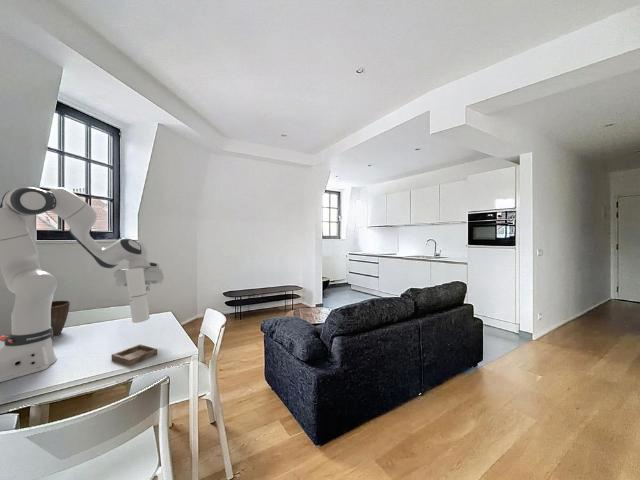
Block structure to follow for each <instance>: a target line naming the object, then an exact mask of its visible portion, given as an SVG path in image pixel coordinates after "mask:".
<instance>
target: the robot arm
mask: <svg viewBox="0 0 640 480" xmlns="http://www.w3.org/2000/svg"><path fill="white" fill-rule="evenodd" d="M47 212H52V213H54V214H56V215H57V216H58V217H59V218H60V219H62V220H63V221H64V222H66V224H67V225H68V227H69V234H70V235H71V236H72V238H73V239H74V240H75V241H76V242H77V243H78V244H79V245H80V246H81V247H82V248H84V250H85V251H86V252H87V253H88V254H89V255H90V256H91V257H92V258H93V259H94V260H95V261H96V263H97V264H98V265H99V266H100V267H102V268H103V269H104V268H105V269H114V268H115V267H117V266H119V264H121V263H123V262H124V261H125V260H127V261H128V268H125V269H122V268H121V269H120V268H119V269H117V270H115V271H114V272H113V276H114V278H115V282H114V284H115V286H116V287H117V288H120V287H122V288H123V287H127V280H126V273H125V271H126V270H129V269H134V268H143V271H144V279H145V286H146V285H147V286H146V292H149V291H150V290H151V287H152V285H157V284H163V282H164V279H165V277H164V272H163V270H162V269H161V268H160V264H159V263H157V262H151V261H149V260H148V258H149V255H148V251H147V248H146V245H145V243H143V242H142V241H138V240H134V239H131V238H128V237H123V238H120V239H119V240H117V241H115V242H114V243H112V244H110V245H109V246H107V247H102V246H101V245H99V243H98V242H96V240H95V239H94V238H93V237H92V236H91V234H90V231H91V229H92V228H93V226H95V223H96V221H97V217H98V216H97V212H96V210H95V209H94V207H92V206H91V205H90V204H89V203H88V202H86V201H85V200H84V199H82V198H81V197H80V196H78V195H77V194H76V193H74V192H72V191H70V190H68V188H65V187H54V188H52V189H50V190H44V189H41V188H38V187H34V186H33V187H31V186H19V187H15V188H12V189H9V190H8V191H7V192H5V193H4V195H3V196H2V199H1V202H0V272H1V275H2V277H3V278H2V279H3V281H4V283H5V286H6V288H7V290H8V291H9V292H10V293H13V294H15V299H14V305H13V309H12V312H11V314H10V315H11V316H10V317H11V318H10V320H11V333H10V334H8V335H1V336H0V342H2V343H4V345H3V346H1V347H0V383H2V382H6V381H9V380H14V379H16V378H19V377H20V378H21V377H23V376H27V375H30V374H31V375H32V374H33V373H34V374H35V373H37V372H41V371H45V370H47V369H48V368H49V366H51V365H53V364H54V363H55V362H56V361H57V356H56V354H55V351H54V346H53V342H52V341H53V337H54V336H53V330H52V327H51V305H52V301H53V300H54V295H55V291H56V290H57V287H58V280H57V279H56V278H55V276H54V275H53V274H51V273H50V272H48V271H44V270H42V268H41V265H40V260H39V251H38V248H37V246H36V243H35V241H34V239H33V237H32V234H31V232H30V230H29V228H28V225H27V220H28V218H29V216H36V215H37V216H38V215H41V214H44V213H47Z"/></svg>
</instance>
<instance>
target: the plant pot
mask: <svg viewBox="0 0 640 480" xmlns="http://www.w3.org/2000/svg"><path fill="white" fill-rule="evenodd" d="M70 304H71V301H69V300H54V301H52V305H51V327H52V330H53V337H54V336H58V335H60V334H61V333H62V332H63V331H64V330H63V329H64V328H65V325H66V322H67V318H68V315H69V312H70V311H69V310H70Z"/></svg>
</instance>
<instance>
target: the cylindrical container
mask: <svg viewBox="0 0 640 480" xmlns="http://www.w3.org/2000/svg"><path fill="white" fill-rule="evenodd" d="M128 269H129V268H128ZM125 273H126V280H127V286H126V288H127V292H128V299H129V308H130V315H131V316H130V317H131V322H132V323H134V324H137V323H143V322H147V321H148V320H150V310H149V303H148V297H147V296H148V295H147V291H146V285H145V279H144V271H143V268H134V269H129V270H126V271H125Z"/></svg>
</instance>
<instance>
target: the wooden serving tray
mask: <svg viewBox="0 0 640 480" xmlns="http://www.w3.org/2000/svg"><path fill="white" fill-rule="evenodd" d="M155 356H158V348H155V347H151V346H147V345H144V344H141V343H140V344H136V345H134V346H132V347H129V348H126V349H123V350H121V351H117V352H114V353H113V354H112V353H111V361H112V362H115V363H118V364H121V365H124V366H127V367H131V366H134V365H136V364H138V363H140V362H143V361H145V360H147V359H151V358H153V357H155Z"/></svg>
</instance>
